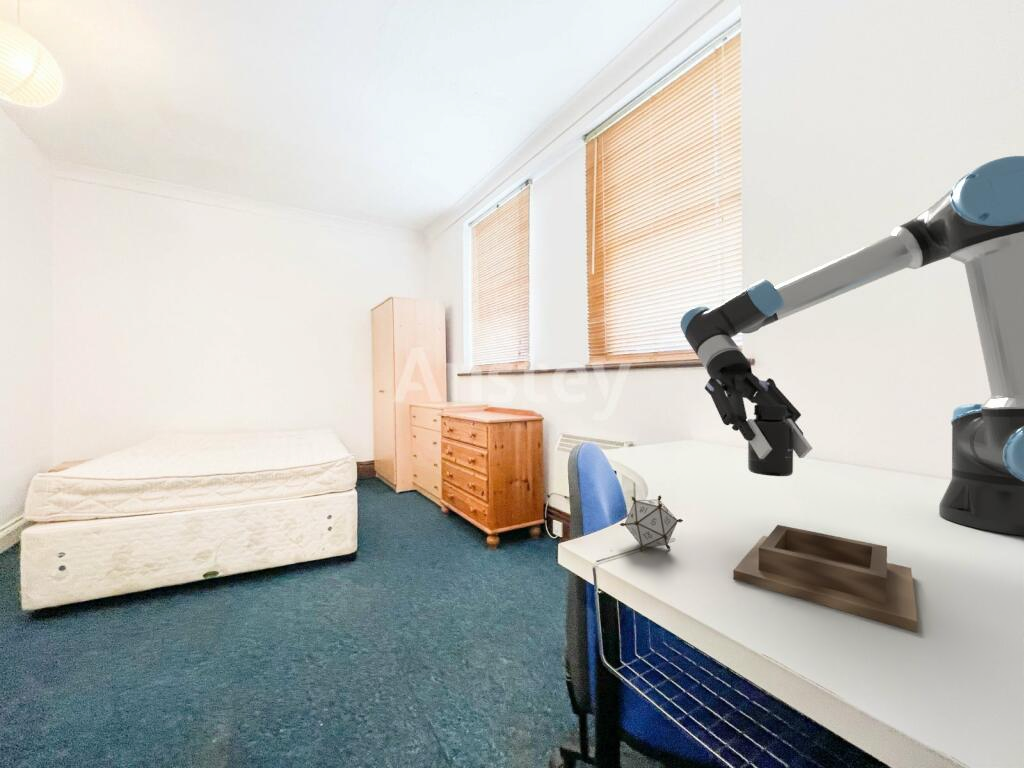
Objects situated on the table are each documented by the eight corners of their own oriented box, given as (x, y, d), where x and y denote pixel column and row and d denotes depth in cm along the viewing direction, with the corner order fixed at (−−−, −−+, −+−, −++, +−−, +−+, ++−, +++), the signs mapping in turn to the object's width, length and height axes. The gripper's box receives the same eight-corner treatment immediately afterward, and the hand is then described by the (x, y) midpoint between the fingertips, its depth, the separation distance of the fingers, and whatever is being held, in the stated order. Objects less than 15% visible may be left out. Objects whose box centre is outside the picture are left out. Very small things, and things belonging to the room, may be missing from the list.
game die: (638, 570, 68) (600, 517, 70) (663, 540, 73) (627, 491, 75) (678, 561, 61) (635, 502, 63) (703, 528, 66) (663, 474, 68)
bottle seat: (910, 576, 58) (911, 546, 58) (917, 632, 45) (917, 593, 45) (762, 542, 71) (763, 517, 71) (733, 578, 57) (733, 547, 57)
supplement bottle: (801, 478, 70) (800, 406, 70) (756, 476, 72) (755, 405, 72) (783, 469, 77) (782, 404, 77) (742, 468, 78) (742, 404, 78)
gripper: (758, 375, 91) (824, 465, 75) (672, 375, 88) (722, 467, 72) (777, 349, 86) (852, 438, 70) (686, 347, 83) (743, 440, 67)
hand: (785, 453), depth 71 cm, fingers closed on supplement bottle, 7 cm apart
